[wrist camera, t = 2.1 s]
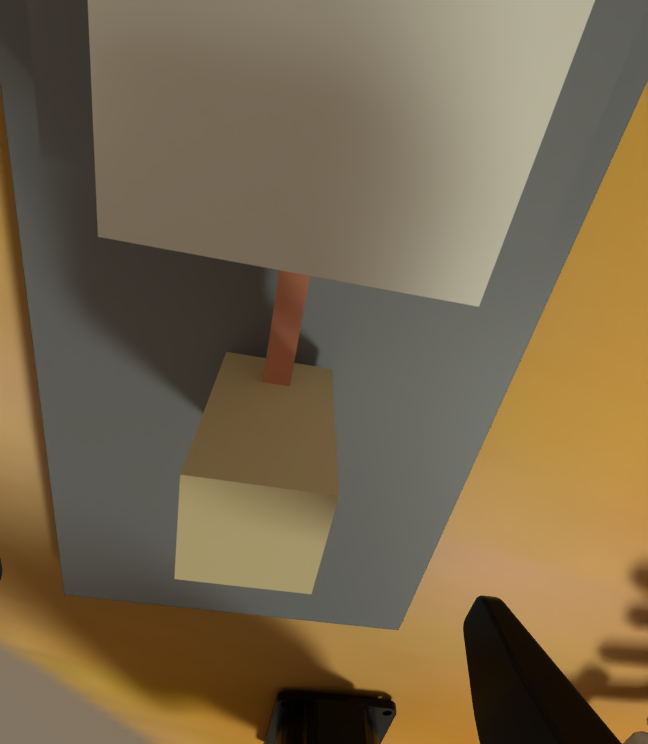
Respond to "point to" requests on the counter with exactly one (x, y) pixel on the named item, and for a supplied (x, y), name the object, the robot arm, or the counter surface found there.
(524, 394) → the counter surface
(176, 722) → the counter surface
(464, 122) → the rod-linked cube pair
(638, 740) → the word lettering
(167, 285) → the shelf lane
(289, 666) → the counter surface
